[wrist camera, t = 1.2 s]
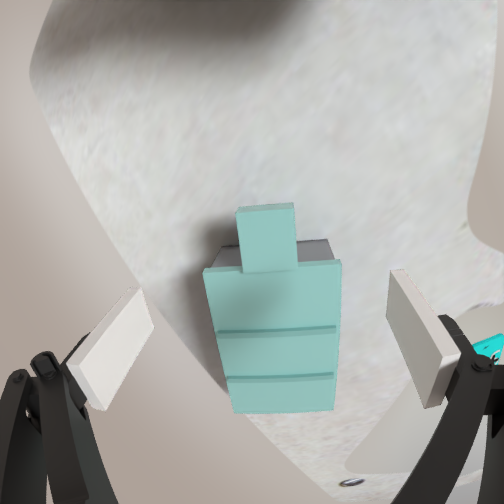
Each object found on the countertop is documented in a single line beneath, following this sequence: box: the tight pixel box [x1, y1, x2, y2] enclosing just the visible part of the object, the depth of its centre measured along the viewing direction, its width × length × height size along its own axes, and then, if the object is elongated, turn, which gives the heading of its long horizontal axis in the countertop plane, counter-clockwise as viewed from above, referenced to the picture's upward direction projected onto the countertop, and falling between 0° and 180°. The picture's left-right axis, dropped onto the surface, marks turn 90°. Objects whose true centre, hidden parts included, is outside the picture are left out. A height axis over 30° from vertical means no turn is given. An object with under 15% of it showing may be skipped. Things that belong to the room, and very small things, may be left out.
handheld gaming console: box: [472, 333, 504, 365], centre depth 36 cm, size 8×1×15 cm
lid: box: [202, 203, 342, 414], centre depth 28 cm, size 24×12×2 cm, turn 7°
